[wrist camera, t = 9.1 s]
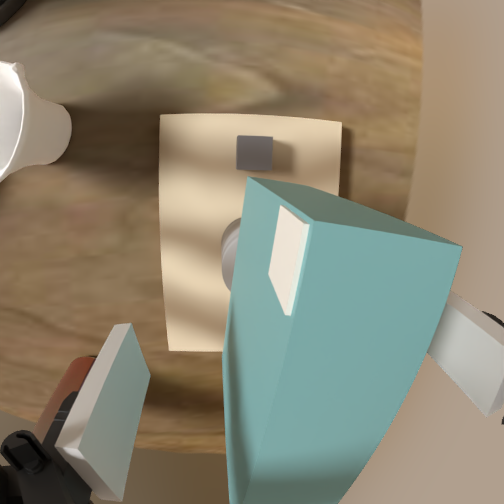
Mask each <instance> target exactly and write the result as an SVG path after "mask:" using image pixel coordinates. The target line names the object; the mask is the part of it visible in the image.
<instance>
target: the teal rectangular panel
mask: <svg viewBox="0 0 504 504" xmlns="http://www.w3.org/2000/svg"><path fill="white" fill-rule="evenodd" d="M462 248H463V247H462V246H460V245H458V244H456V243H454V242H451V241H449V240H447V239H445V238H442V237H440V236H438V235H435V234H433V233H430V232H428V231H426V230H424V229H421V228H419V227H416V226H414V225H412V224H409V223H407V222H404V221H402V220H399V219H397V218H394V217H392V216H389V215H387V214H384V213H382V212H379V211H377V210H374V209H371V208H369V207H366V206H363V205H361V204H358V203H355V202H353V201H350V200H347V199H344V198H342V197H339V196H336V195H333V194H330V193H327V192H325V191H322V190H319V189H316V188H313V187H310V186H307V185H301V184H296V183H290V182H283V181H277V180H271V179H264V178H257V177H250V176H247V183H246V189H245V196H244V203H243V210H242V216H241V223H240V230H239V237H238V244H237V251H236V258H235V265H234V273H233V280H232V287H231V294H230V302H229V309H228V316H227V324H226V331H225V339H224V347H223V354H222V366H223V393H224V415H225V435H226V453H227V470H228V485H229V499H230V504H338V503H339V501H340V500H341V499H342V497H343V496H344V495H345V493H346V492H347V491H348V489H349V488H350V487H351V485H352V484H353V482H354V481H355V480H356V478H357V477H358V475H359V474H360V472H361V471H362V469H363V468H364V467H365V465H366V463H367V462H368V461H369V459H370V457H371V456H372V454H373V453H374V451H375V450H376V448H377V446H378V445H379V443H380V442H381V440H382V438H383V437H384V435H385V433H386V432H387V430H388V428H389V426H390V425H391V423H392V421H393V419H394V418H395V416H396V414H397V412H398V410H399V408H400V407H401V404H402V403H403V401H404V399H405V397H406V395H407V393H408V391H409V389H410V387H411V385H412V383H413V381H414V379H415V377H416V375H417V373H418V370H419V368H420V366H421V364H422V361H423V359H424V357H425V355H426V352H427V350H428V348H429V345H430V343H431V341H432V338H433V336H434V333H435V331H436V328H437V326H438V323H439V320H440V318H441V315H442V312H443V309H444V307H445V304H446V301H447V298H448V295H449V292H450V289H451V285H452V282H453V279H454V276H455V273H456V269H457V266H458V262H459V259H460V255H461V251H462Z"/></svg>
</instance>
